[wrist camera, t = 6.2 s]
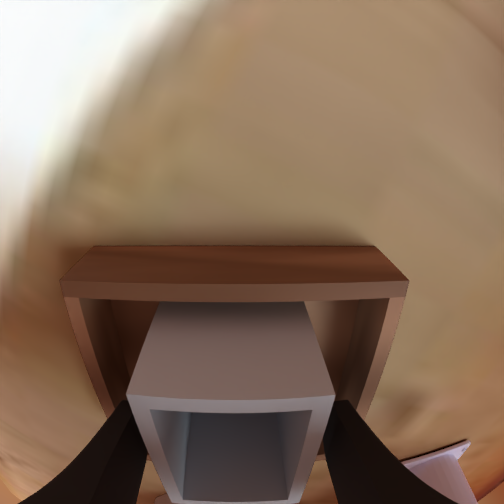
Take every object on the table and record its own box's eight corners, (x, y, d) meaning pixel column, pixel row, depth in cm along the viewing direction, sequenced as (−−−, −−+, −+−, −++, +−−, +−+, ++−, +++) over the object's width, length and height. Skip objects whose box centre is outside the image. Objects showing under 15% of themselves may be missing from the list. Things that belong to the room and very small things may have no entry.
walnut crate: (335, 415, 16) (347, 456, 13) (137, 415, 16) (126, 457, 13) (375, 246, 12) (409, 280, 9) (93, 246, 12) (59, 280, 9)
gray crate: (284, 408, 15) (298, 502, 10) (184, 408, 14) (171, 502, 9) (298, 287, 12) (335, 394, 7) (165, 286, 12) (125, 394, 7)
